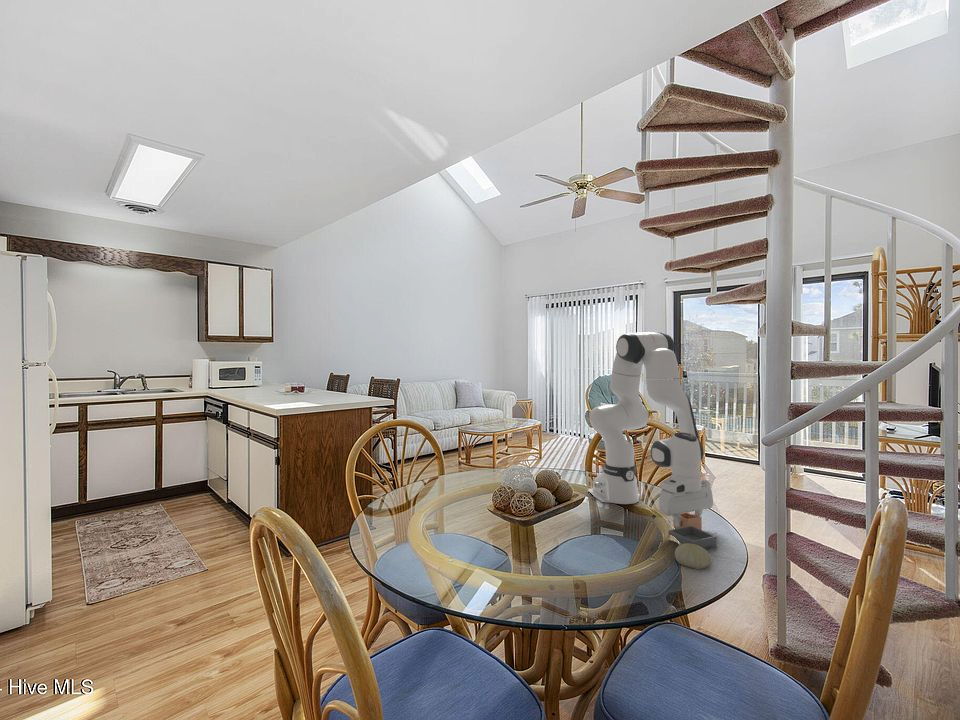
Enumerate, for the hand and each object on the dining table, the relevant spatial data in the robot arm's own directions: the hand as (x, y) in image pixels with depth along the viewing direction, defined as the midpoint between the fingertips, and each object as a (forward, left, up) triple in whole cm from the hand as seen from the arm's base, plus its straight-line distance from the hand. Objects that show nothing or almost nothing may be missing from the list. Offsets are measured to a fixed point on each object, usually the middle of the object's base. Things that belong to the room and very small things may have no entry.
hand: (687, 524), depth 146 cm
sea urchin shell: (+18, -17, -2) cm, 25 cm away
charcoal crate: (+8, -6, -2) cm, 11 cm away
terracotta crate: (0, 0, -2) cm, 2 cm away
